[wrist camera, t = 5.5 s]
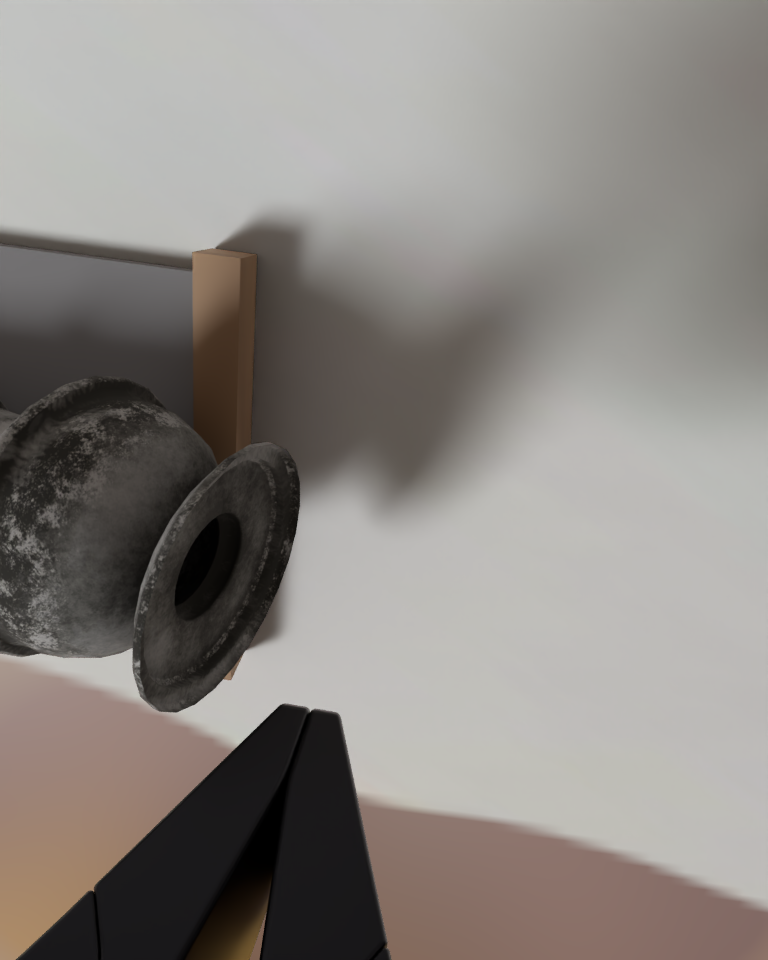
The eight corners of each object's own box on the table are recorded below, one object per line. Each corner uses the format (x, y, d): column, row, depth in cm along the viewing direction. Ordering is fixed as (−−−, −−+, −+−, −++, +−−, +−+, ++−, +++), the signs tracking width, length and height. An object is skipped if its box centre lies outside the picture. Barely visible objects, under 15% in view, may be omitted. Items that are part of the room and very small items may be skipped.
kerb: (257, 254, 14) (240, 258, 13) (243, 652, 18) (230, 680, 17) (212, 248, 14) (192, 252, 13) (210, 646, 18) (194, 674, 17)
